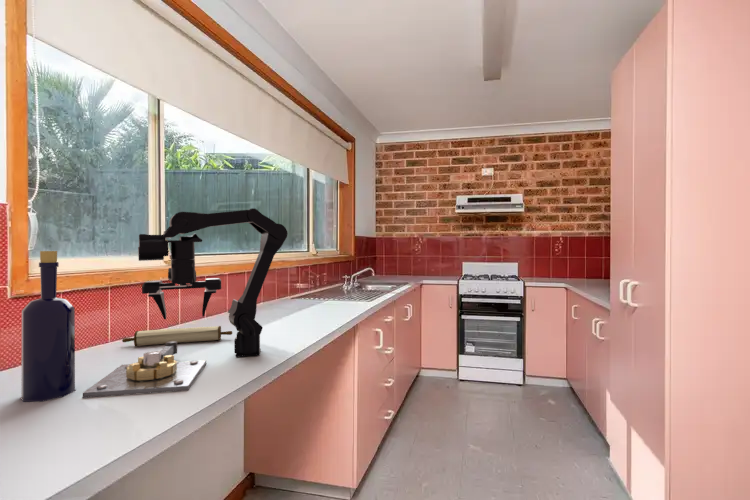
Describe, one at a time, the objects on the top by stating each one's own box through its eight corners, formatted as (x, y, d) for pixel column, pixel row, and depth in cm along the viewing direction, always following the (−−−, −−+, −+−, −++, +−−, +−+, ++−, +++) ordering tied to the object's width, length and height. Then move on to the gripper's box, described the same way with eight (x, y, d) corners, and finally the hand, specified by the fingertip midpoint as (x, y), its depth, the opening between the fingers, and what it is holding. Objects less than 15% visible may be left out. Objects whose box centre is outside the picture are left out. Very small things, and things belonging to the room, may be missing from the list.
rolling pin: (232, 338, 136) (232, 323, 136) (232, 342, 130) (232, 326, 130) (124, 345, 125) (124, 329, 125) (119, 349, 120) (119, 333, 120)
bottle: (86, 389, 86) (86, 251, 86) (38, 404, 77) (38, 251, 77) (57, 384, 89) (57, 250, 89) (8, 398, 80) (8, 251, 80)
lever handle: (192, 352, 111) (192, 340, 111) (169, 378, 89) (169, 362, 89) (153, 354, 109) (153, 342, 109) (120, 381, 87) (120, 365, 87)
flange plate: (206, 363, 105) (206, 341, 105) (188, 390, 85) (188, 362, 85) (122, 368, 101) (122, 345, 100) (82, 397, 81) (82, 368, 81)
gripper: (220, 257, 116) (222, 310, 117) (148, 259, 110) (150, 315, 110) (220, 258, 106) (221, 316, 106) (140, 261, 99) (142, 322, 100)
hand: (184, 317), depth 106 cm, fingers open, 9 cm apart
